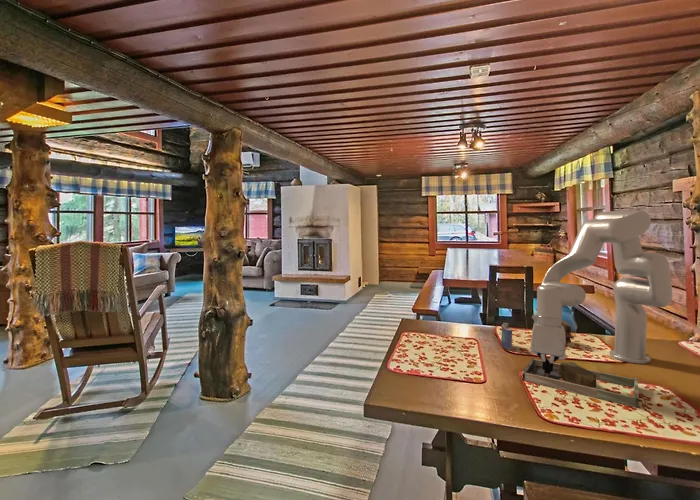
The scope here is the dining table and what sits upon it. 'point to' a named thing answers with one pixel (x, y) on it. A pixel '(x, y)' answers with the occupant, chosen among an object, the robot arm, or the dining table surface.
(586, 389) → the box
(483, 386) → the dining table surface
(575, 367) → the stone block
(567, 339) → the wooden carving
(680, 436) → the dining table surface
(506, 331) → the flask
